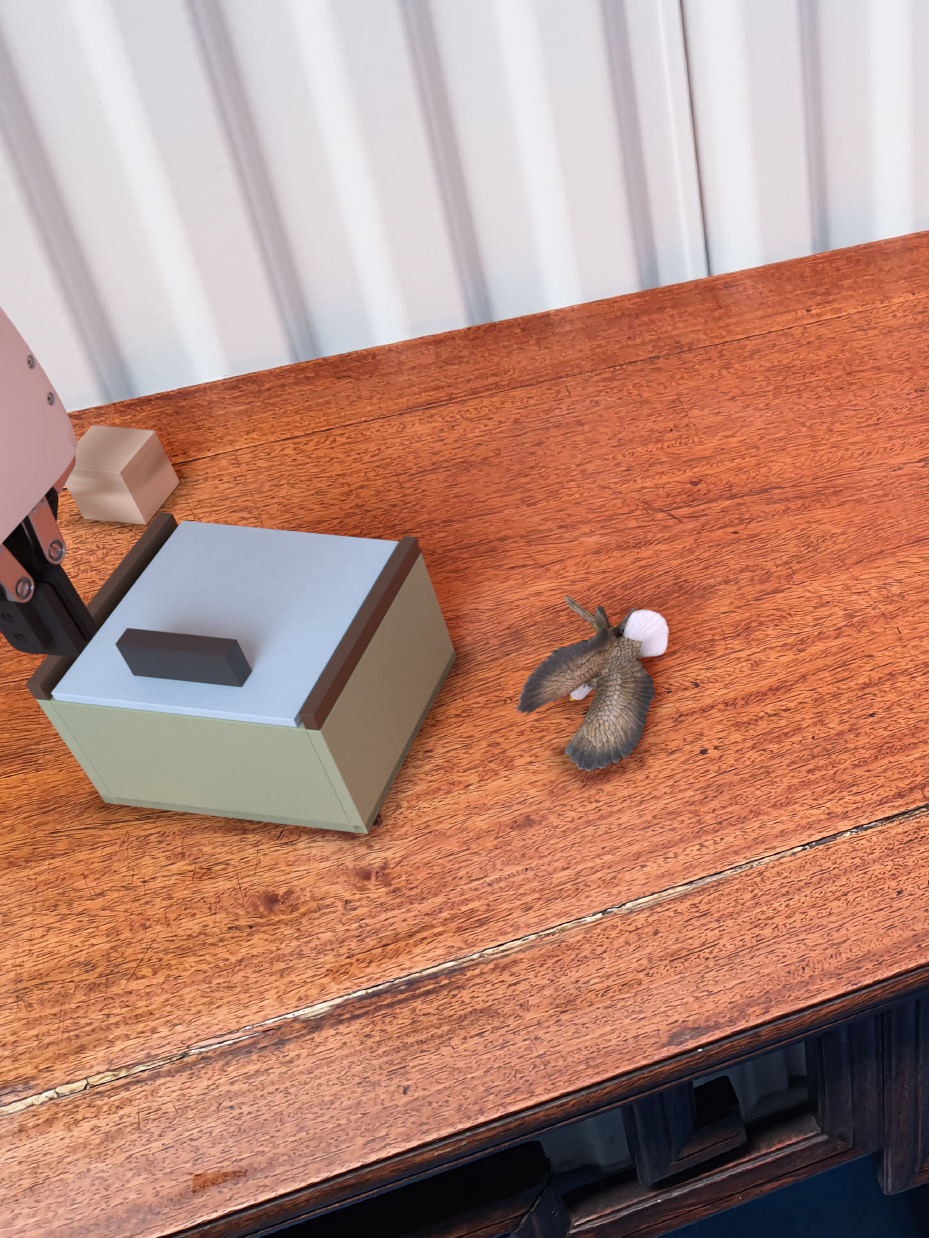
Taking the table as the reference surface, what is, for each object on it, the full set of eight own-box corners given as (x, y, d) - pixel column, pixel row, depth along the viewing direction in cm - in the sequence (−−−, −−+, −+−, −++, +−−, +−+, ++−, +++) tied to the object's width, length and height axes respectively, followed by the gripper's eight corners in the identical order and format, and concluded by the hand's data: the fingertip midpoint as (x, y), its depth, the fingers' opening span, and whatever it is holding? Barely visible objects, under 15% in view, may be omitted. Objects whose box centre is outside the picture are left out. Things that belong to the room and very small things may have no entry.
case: (104, 803, 79) (24, 684, 71) (220, 632, 88) (159, 511, 81) (368, 834, 77) (312, 716, 70) (457, 656, 86) (416, 536, 79)
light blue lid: (55, 700, 72) (29, 661, 70) (186, 527, 82) (166, 488, 79) (297, 727, 71) (278, 688, 69) (401, 548, 80) (387, 509, 78)
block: (83, 519, 96) (54, 466, 92) (119, 476, 99) (92, 424, 96) (146, 525, 95) (119, 472, 92) (180, 482, 98) (155, 430, 95)
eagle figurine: (537, 638, 86) (489, 730, 79) (588, 559, 82) (543, 648, 75) (646, 698, 88) (609, 793, 81) (700, 624, 84) (667, 716, 77)
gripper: (-129, 172, 55) (74, 525, 68) (-437, 396, 44) (-128, 763, 57) (47, 183, 54) (218, 538, 67) (-224, 414, 44) (41, 782, 57)
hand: (58, 641), depth 62 cm, fingers closed
